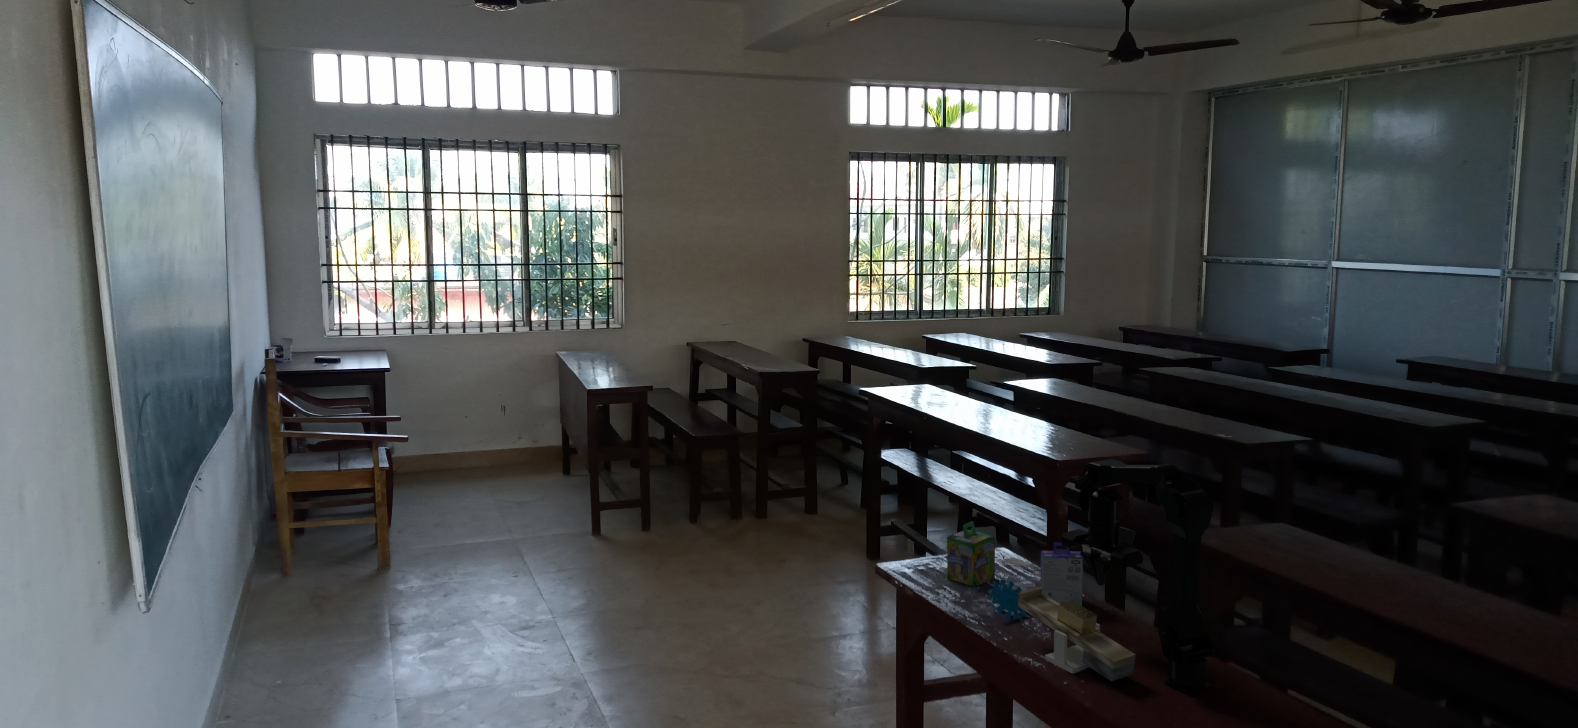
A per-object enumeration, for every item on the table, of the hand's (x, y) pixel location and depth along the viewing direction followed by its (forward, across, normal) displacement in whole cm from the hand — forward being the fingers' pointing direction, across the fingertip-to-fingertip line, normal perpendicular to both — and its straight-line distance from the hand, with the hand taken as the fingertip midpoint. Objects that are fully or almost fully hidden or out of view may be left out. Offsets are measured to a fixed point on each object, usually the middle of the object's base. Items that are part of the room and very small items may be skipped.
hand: (1100, 584), depth 227 cm
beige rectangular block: (+5, -6, +13) cm, 15 cm away
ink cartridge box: (+12, +19, -7) cm, 24 cm away
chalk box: (+12, +43, +1) cm, 45 cm away
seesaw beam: (+9, -5, +13) cm, 16 cm away
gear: (+12, +20, +8) cm, 25 cm away
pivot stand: (+12, -6, +13) cm, 19 cm away
